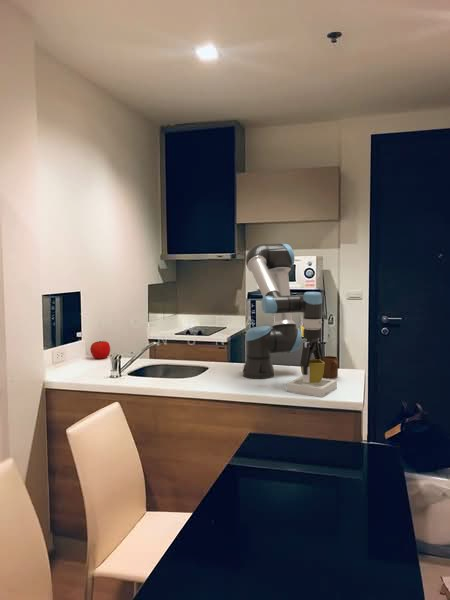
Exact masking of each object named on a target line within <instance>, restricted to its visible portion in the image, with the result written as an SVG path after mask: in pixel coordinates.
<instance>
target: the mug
mask: <svg viewBox="0 0 450 600" xmlns="http://www.w3.org/2000/svg"><path fill="white" fill-rule="evenodd" d="M323 362H324V363H325V365H324V373H323V377H322V379H328V378H329V380H334V379H337V378H338V376H339V375H338V374H339V373H338V372H339V360H338V357H337V356H333V355H325V356H324V355H323Z"/></svg>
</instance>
